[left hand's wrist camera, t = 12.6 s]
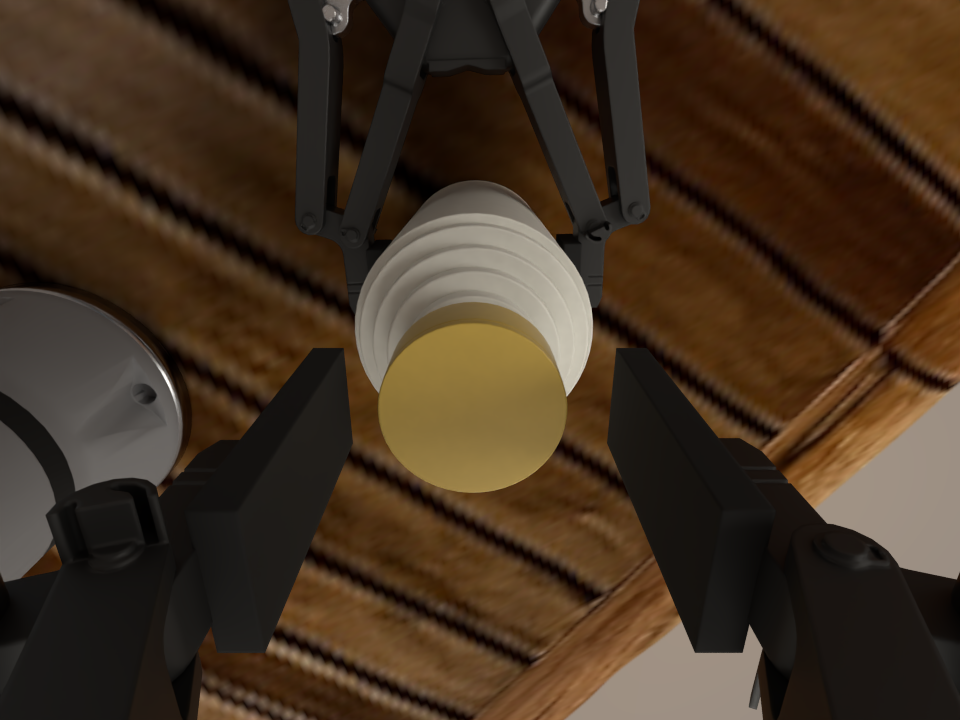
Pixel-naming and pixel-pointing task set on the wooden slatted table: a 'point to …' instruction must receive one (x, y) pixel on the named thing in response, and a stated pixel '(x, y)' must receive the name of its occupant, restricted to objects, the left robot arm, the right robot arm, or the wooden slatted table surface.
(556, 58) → the wooden slatted table surface
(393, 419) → the cap
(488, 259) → the bottle
